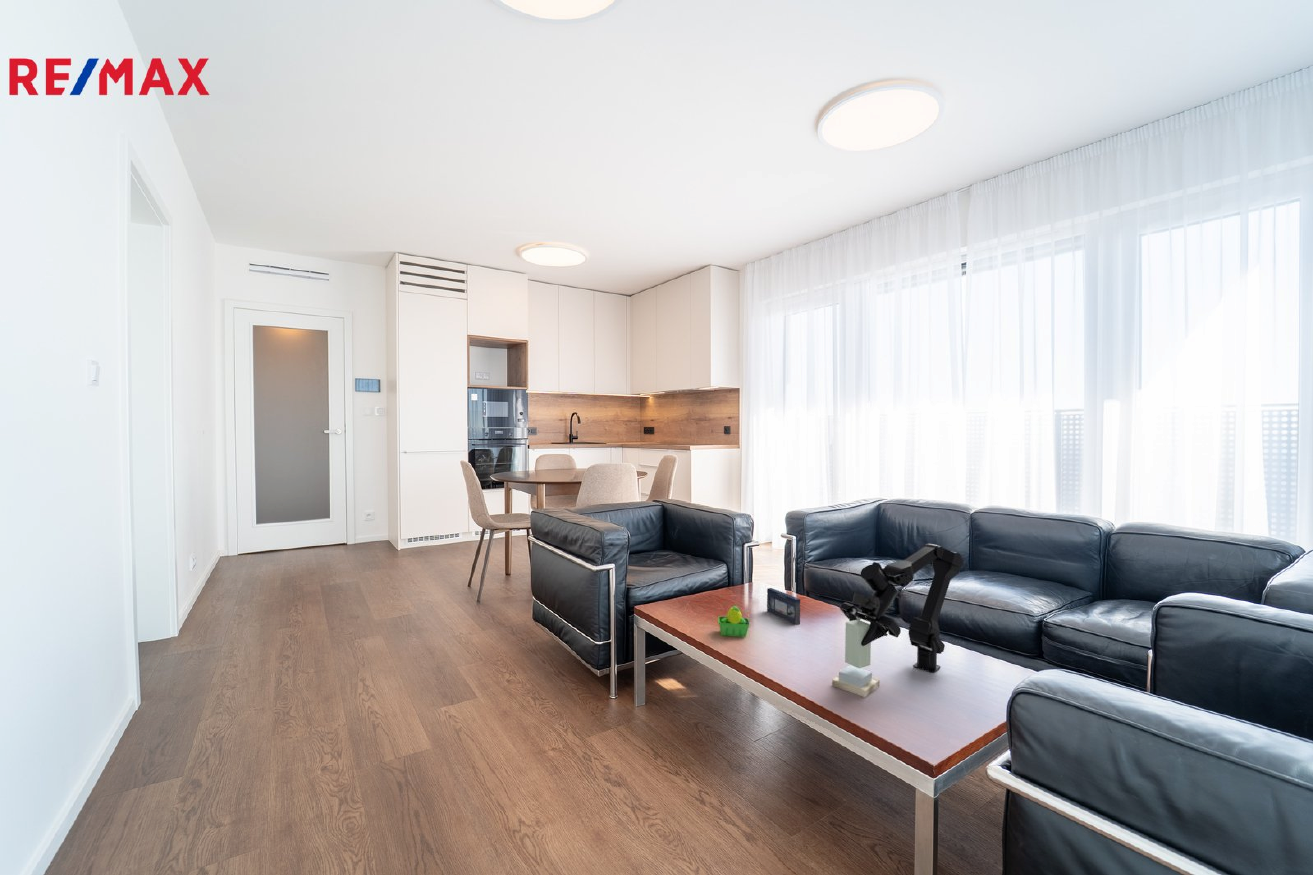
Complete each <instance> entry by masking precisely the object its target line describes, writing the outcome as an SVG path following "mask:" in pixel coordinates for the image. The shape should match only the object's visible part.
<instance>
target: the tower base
mask: <svg viewBox="0 0 1313 875" xmlns="http://www.w3.org/2000/svg"><path fill="white" fill-rule="evenodd" d="M880 681H881V680H879V679H877V678H873V677H872V681H870V682H869V683H868V684H866V685H865V686H863V687H862V688H861V687H858V686H855V685H852V684H849V683H846V682H843V681H840V680H839V675H837V676H836V677H834V678H832V681H831V686H832V687H835V688H837V689H841V690H844V691H846V692H849V693H852V694H854V695H858V696H860V697H864V698H866V697H867V696H868V695H870V694H872V693H873V691H874V692H875V690H877V688H879V687H880Z"/></svg>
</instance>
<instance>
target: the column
mask: <svg viewBox="0 0 1313 875" xmlns="http://www.w3.org/2000/svg"><path fill="white" fill-rule="evenodd" d="M869 628H870V623H869V622H865V621H864V620H863V621H862V620H853V621H849V620H848V621H845V639H844V640H845V642H844V643H845V644H844V646H845V647H844V649H845V650H844V652H845V653H844V662H845V663H846V664H848V665H851V666H854V667H857V668H861V669H863V668H866V667H869V666H871V649H872V648H871V643H872V642H870V643H869V644H867V645H865V646H862V645H861V642H862V640H863V638H864V636H865V635H866V633H867V631H868V630H869Z"/></svg>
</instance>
